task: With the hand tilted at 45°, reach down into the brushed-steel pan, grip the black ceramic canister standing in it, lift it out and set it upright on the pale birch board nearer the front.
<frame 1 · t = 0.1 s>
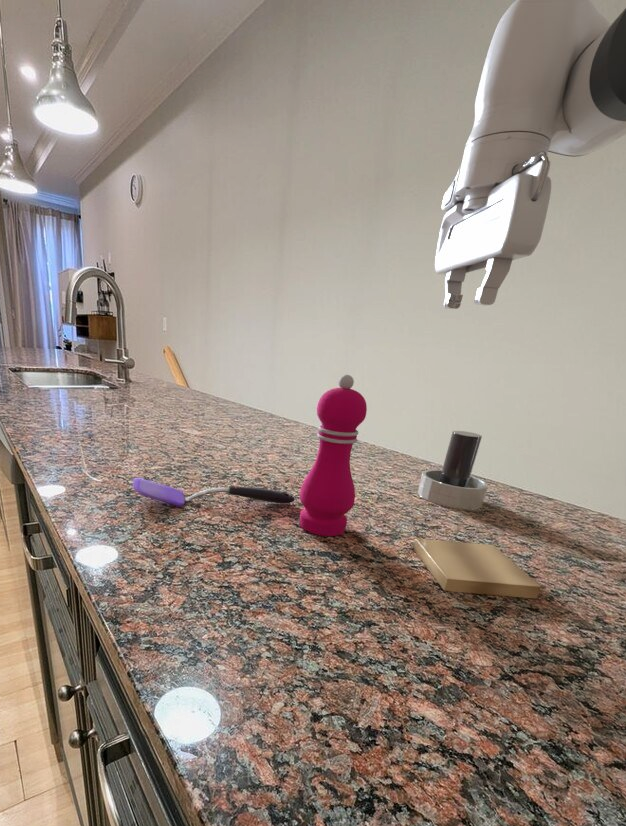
hand: (466, 306, 58), 29 cm above the table, tool pointing down, fingers open, 8 cm apart
spatula: (215, 502, 66), on the table
board: (469, 571, 52), on the table
black canister: (449, 497, 76), point 1 cm above the table, touching pan
pan: (448, 501, 76), on the table
pepper mill: (321, 528, 61), on the table
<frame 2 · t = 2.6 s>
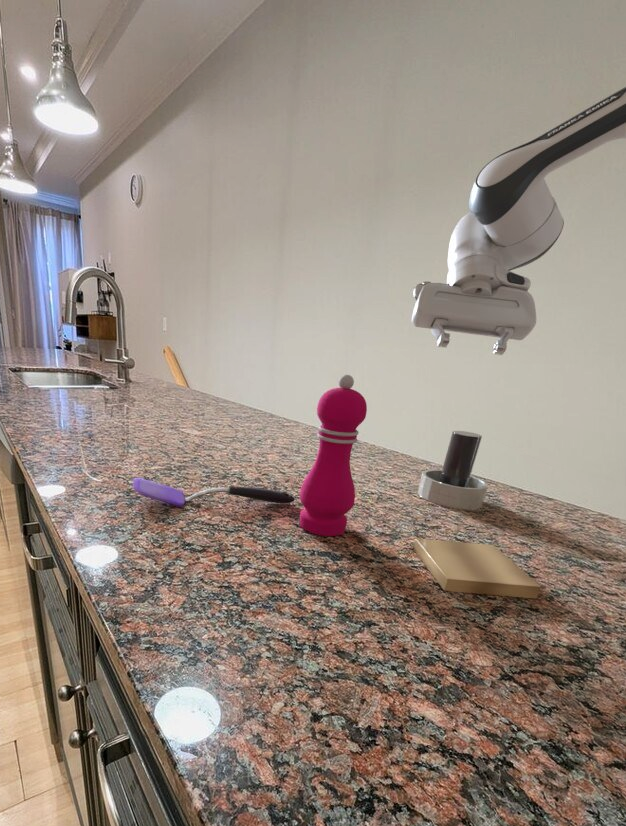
hand: (471, 348, 77), 24 cm above the table, tool tilted 40°, fingers open, 8 cm apart
nothing on the table moved.
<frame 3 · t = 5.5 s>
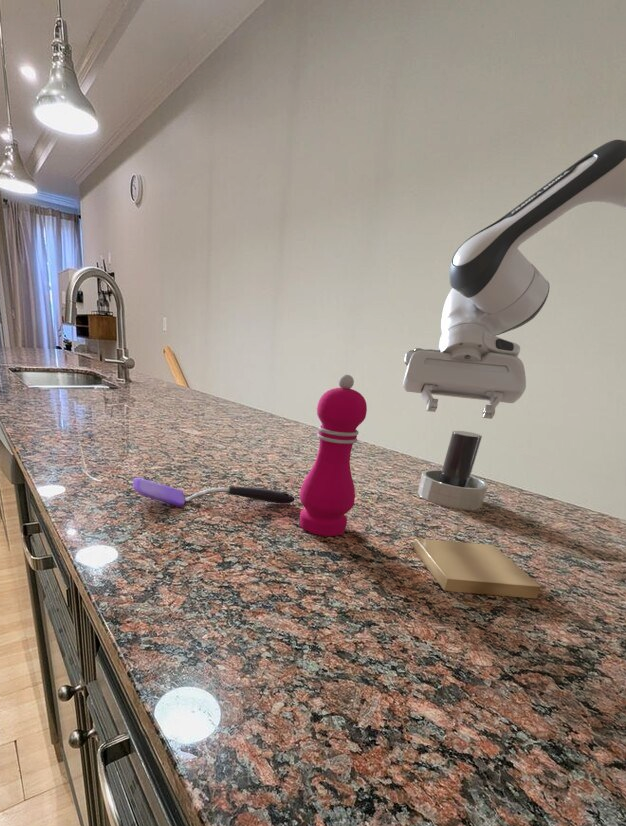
hand: (459, 413, 79), 14 cm above the table, tool tilted 45°, fingers open, 8 cm apart
nothing on the table moved.
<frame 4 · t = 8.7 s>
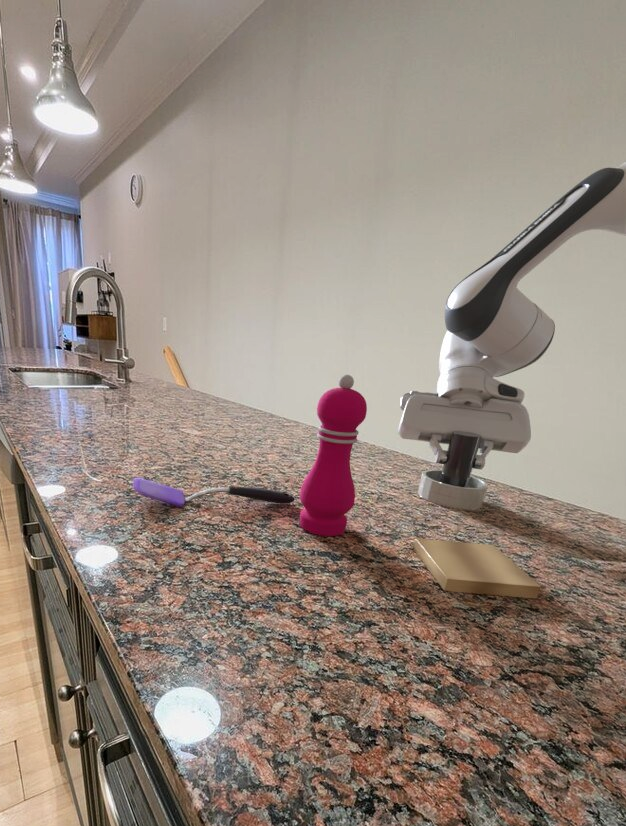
hand: (459, 464, 73), 7 cm above the table, tool tilted 45°, fingers closed on black canister, 4 cm apart
black canister: (449, 497, 76), point 1 cm above the table, touching gripper, pan
everything else where it was.
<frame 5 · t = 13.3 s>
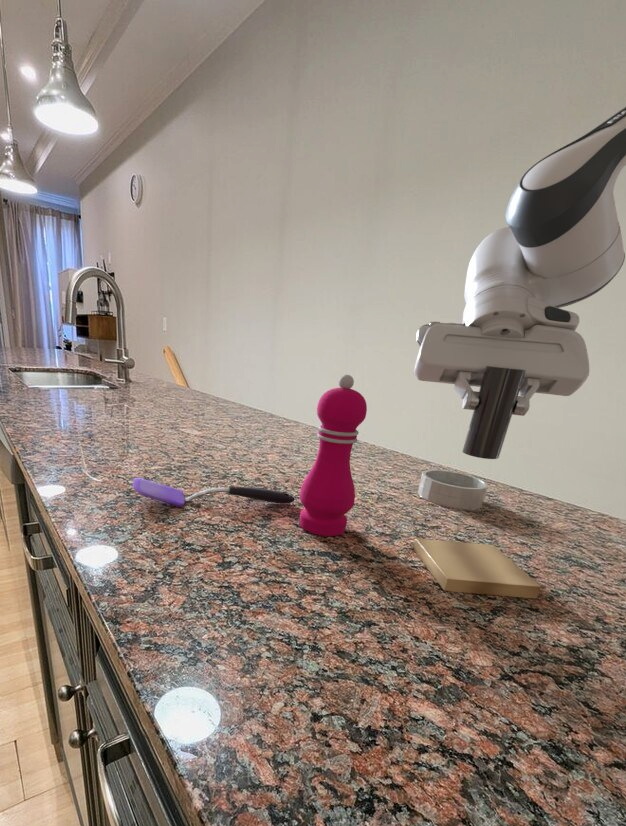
hand: (495, 409, 56), 17 cm above the table, tool tilted 45°, fingers closed on black canister, 4 cm apart
black canister: (480, 454, 59), point 11 cm above the table, touching gripper
everything else where it was.
when the fingers open (7 cm above the table, at t = 18.2 s): black canister stays where it is, resting on board.
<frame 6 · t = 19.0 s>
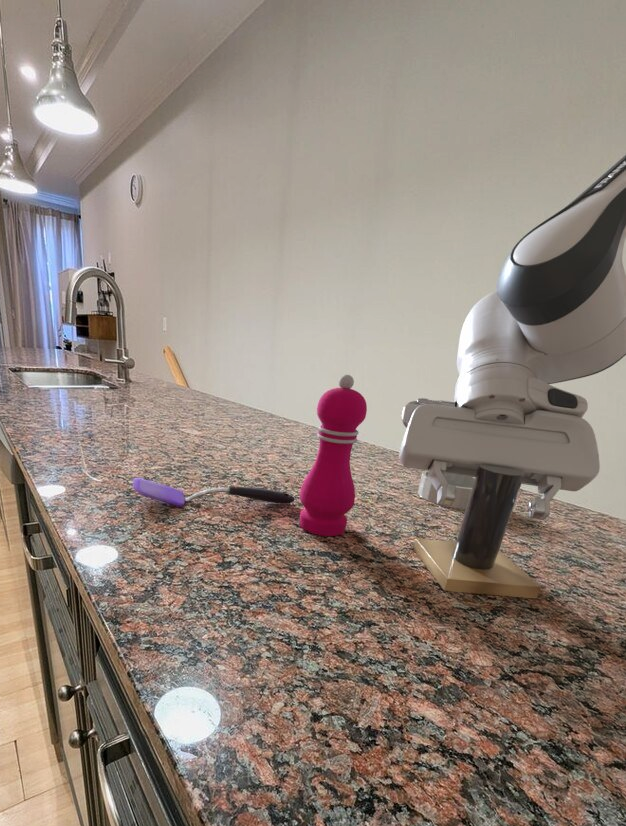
hand: (491, 509, 49), 8 cm above the table, tool tilted 45°, fingers open, 8 cm apart
black canister: (472, 560, 52), point 1 cm above the table, touching board
everything else where it was.
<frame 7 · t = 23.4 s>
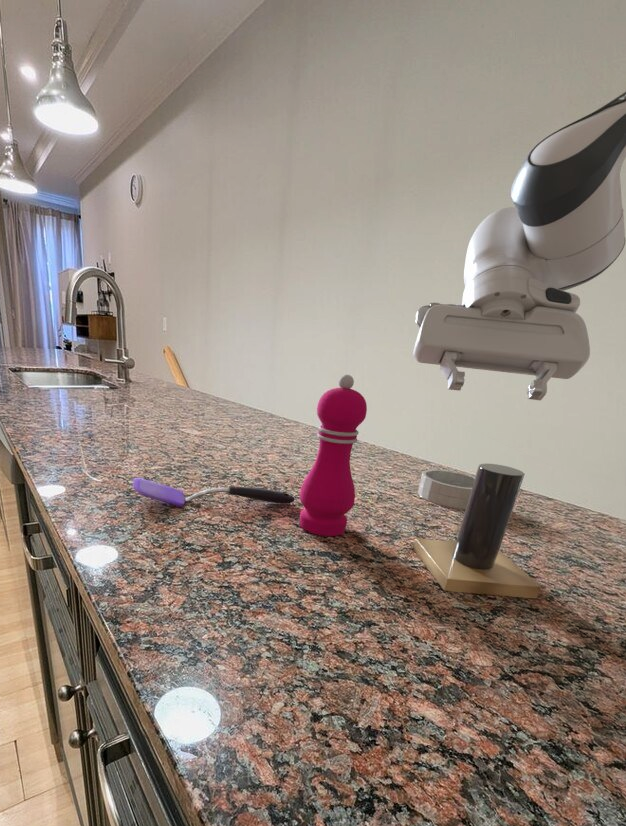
hand: (495, 391, 55), 19 cm above the table, tool tilted 45°, fingers open, 8 cm apart
nothing on the table moved.
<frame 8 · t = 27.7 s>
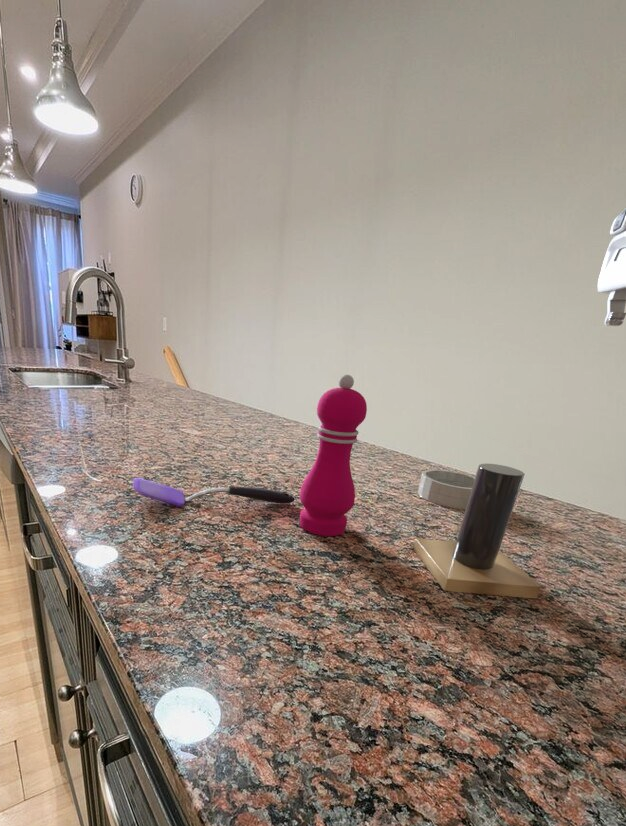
nothing on the table moved.
at the end: black canister inside the target area on the board (0.0 cm from its centre), point 1.5 cm above the board's base; black canister tilted 0°; the gripper is holding nothing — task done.
